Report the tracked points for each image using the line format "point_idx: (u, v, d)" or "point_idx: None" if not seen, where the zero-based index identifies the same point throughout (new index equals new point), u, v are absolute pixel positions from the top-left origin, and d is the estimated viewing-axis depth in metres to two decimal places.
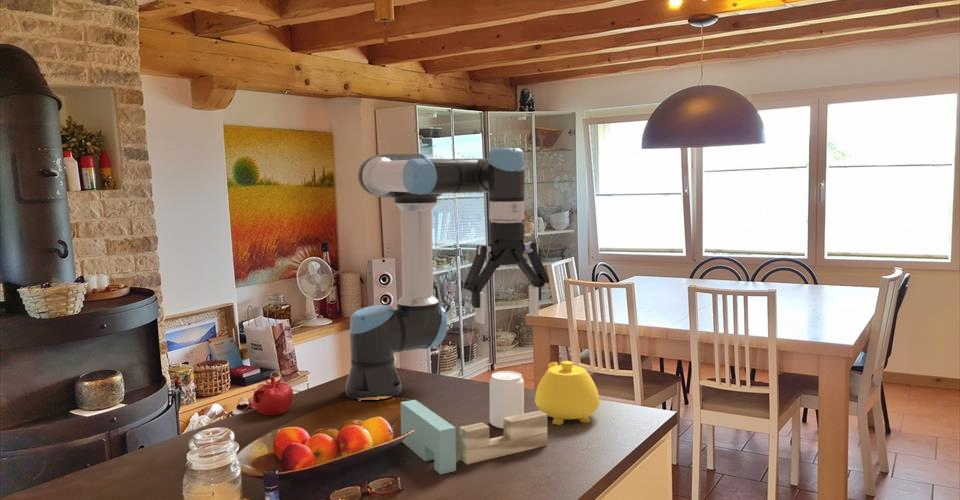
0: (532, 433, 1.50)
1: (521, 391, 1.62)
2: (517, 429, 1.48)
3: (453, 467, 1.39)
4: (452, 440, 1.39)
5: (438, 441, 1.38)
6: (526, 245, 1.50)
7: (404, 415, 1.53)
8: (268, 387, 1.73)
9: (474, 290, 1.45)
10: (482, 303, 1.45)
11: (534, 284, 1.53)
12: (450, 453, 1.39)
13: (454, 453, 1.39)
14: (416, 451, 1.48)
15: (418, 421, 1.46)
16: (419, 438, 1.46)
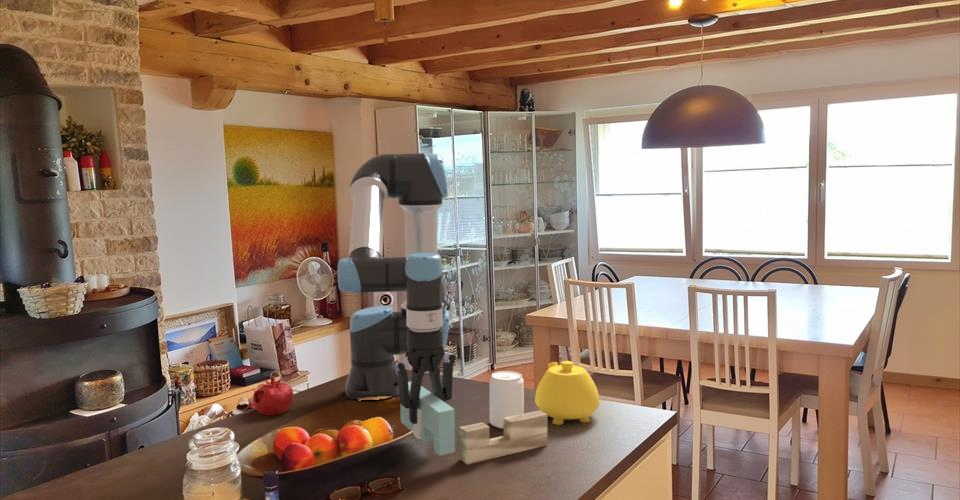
0: (532, 433, 1.50)
1: (521, 391, 1.62)
2: (517, 429, 1.48)
3: (452, 448, 1.40)
4: (451, 422, 1.39)
5: (437, 422, 1.38)
6: (446, 354, 1.47)
7: None
8: (268, 387, 1.73)
9: (411, 408, 1.44)
10: (419, 419, 1.45)
11: None
12: (449, 434, 1.39)
13: (453, 434, 1.39)
14: None
15: None
16: None
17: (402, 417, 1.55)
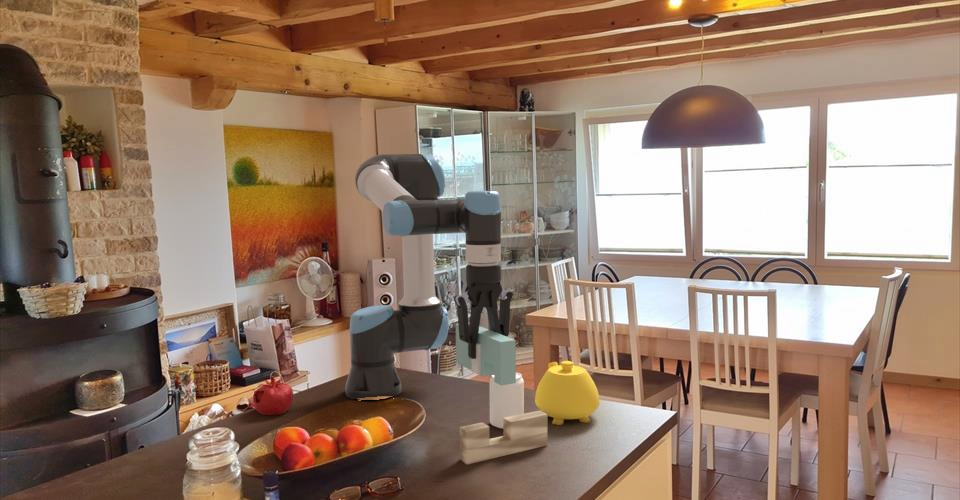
0: (532, 433, 1.50)
1: (521, 391, 1.62)
2: (517, 429, 1.48)
3: (513, 379, 1.42)
4: (512, 352, 1.41)
5: (499, 352, 1.40)
6: (503, 291, 1.50)
7: None
8: (268, 387, 1.73)
9: (471, 343, 1.47)
10: (478, 354, 1.47)
11: None
12: (511, 365, 1.41)
13: (514, 365, 1.42)
14: None
15: None
16: None
17: (458, 358, 1.57)
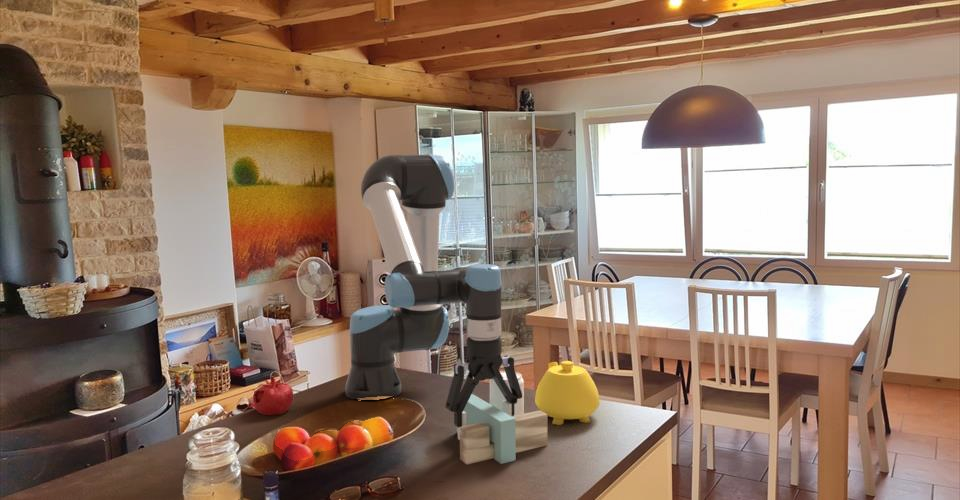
0: (532, 433, 1.50)
1: (521, 391, 1.62)
2: (517, 429, 1.48)
3: (513, 457, 1.44)
4: (512, 431, 1.43)
5: (499, 431, 1.42)
6: (504, 359, 1.52)
7: None
8: (268, 387, 1.73)
9: (456, 411, 1.47)
10: (464, 423, 1.47)
11: (507, 400, 1.54)
12: (511, 443, 1.43)
13: (514, 443, 1.44)
14: None
15: (476, 413, 1.51)
16: None
17: None
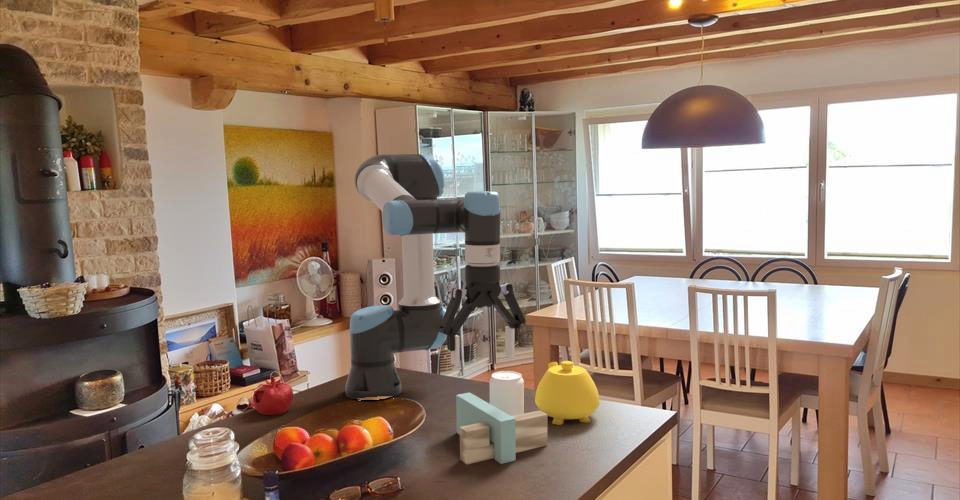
0: (532, 433, 1.50)
1: (521, 391, 1.62)
2: (517, 429, 1.48)
3: (513, 457, 1.44)
4: (512, 431, 1.43)
5: (499, 431, 1.42)
6: (502, 287, 1.51)
7: (459, 407, 1.58)
8: (268, 387, 1.73)
9: (449, 333, 1.45)
10: (457, 346, 1.46)
11: (510, 325, 1.53)
12: (511, 443, 1.43)
13: (514, 443, 1.44)
14: None
15: (476, 413, 1.51)
16: None
17: (458, 428, 1.59)
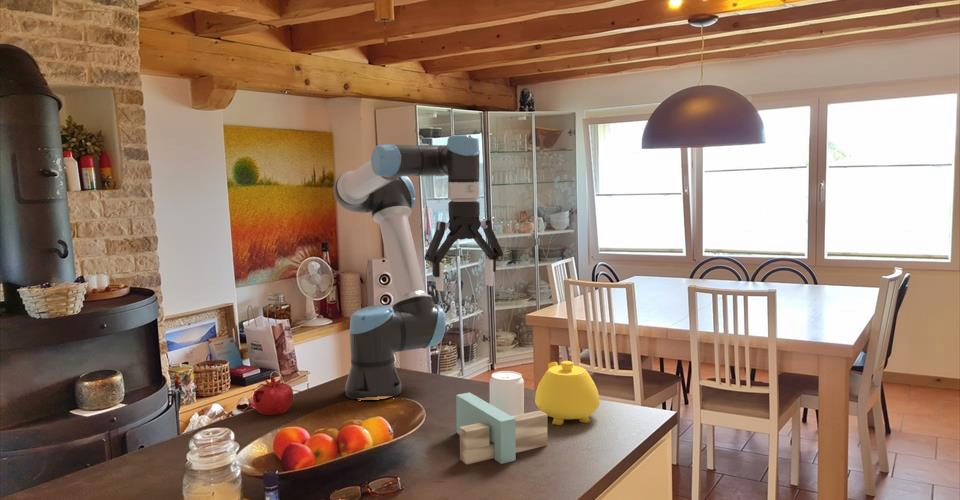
0: (532, 433, 1.50)
1: (521, 391, 1.62)
2: (517, 429, 1.48)
3: (513, 457, 1.44)
4: (512, 431, 1.43)
5: (499, 431, 1.42)
6: (482, 222, 1.69)
7: (459, 407, 1.58)
8: (268, 387, 1.73)
9: (434, 261, 1.63)
10: (441, 273, 1.64)
11: (489, 257, 1.72)
12: (511, 443, 1.43)
13: (514, 443, 1.44)
14: None
15: (476, 413, 1.51)
16: None
17: (458, 428, 1.59)
